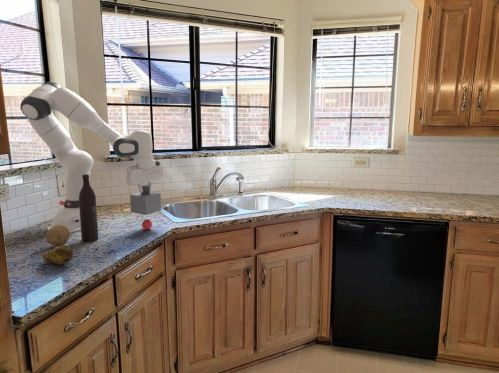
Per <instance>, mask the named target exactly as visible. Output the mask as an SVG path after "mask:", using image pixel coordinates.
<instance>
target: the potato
mask: <svg viewBox="0 0 499 373" xmlns="http://www.w3.org/2000/svg"><path fill="white" fill-rule="evenodd" d="M73 257H74V251H73V248H71V247H70V246H68V245H64V246H58V247H56V246H54V248H52V249H50V250H47V251H46V252H44V253H43V255H42V259H43V261H44V262H45V263H48V264H55V265H63V264H67V263H69V262H70V261H71V260H72V258H73Z"/></svg>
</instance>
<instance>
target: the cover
mask: <svg viewBox="0 0 499 373" xmlns="http://www.w3.org/2000/svg"><path fill="white" fill-rule="evenodd" d="M142 188H143V189H144V192H142V193H140V192H139V191H138V192H136V193H131V194H129V198H130V200H129V201H130V212H131V213H133V214H134V213H135V214H138V215H139V214H140V215H145V216H147V215H149V214H150V215H151V214H154V213H156V212H161V211H162V201H161V200H162V196H161V195H162V194H161V193H160V192H154V191H150V186H148V184H144V185H143V184H142Z"/></svg>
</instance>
